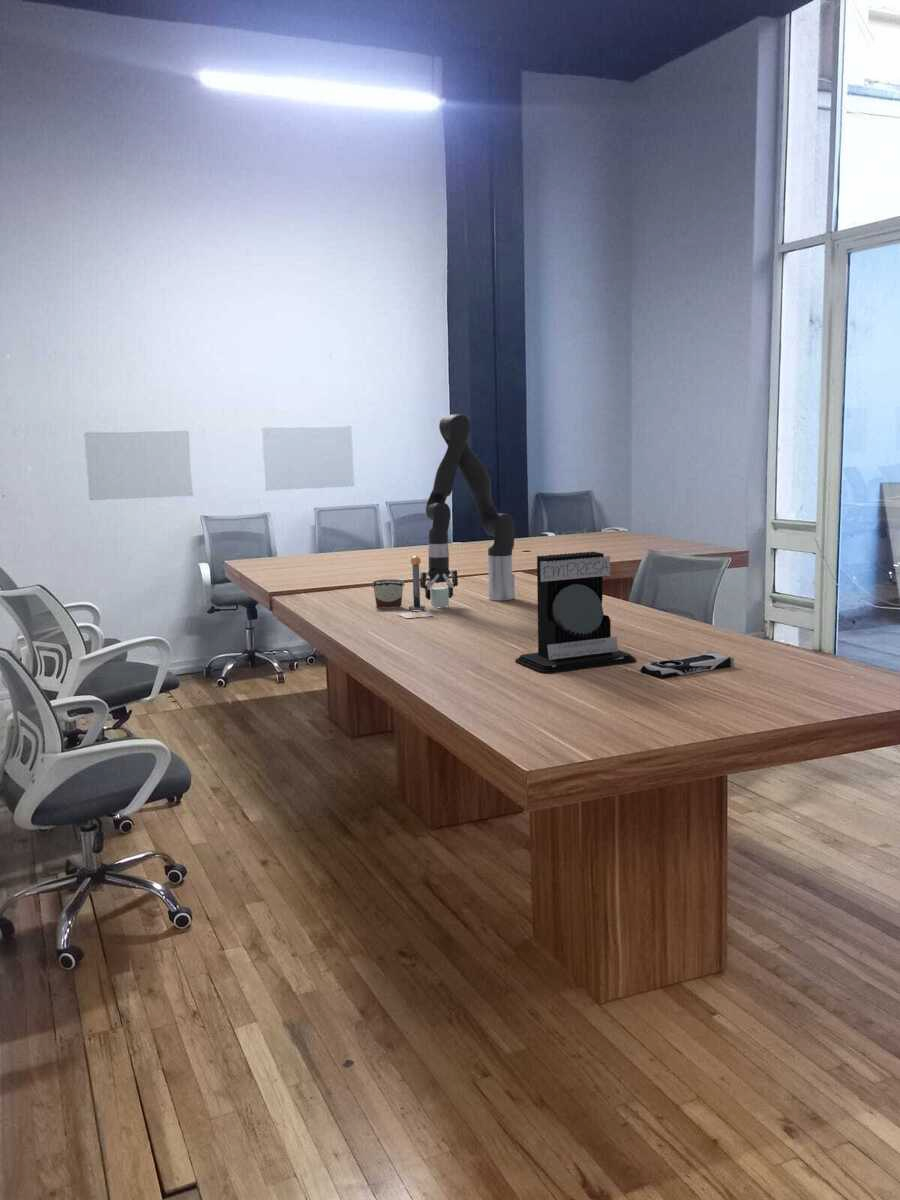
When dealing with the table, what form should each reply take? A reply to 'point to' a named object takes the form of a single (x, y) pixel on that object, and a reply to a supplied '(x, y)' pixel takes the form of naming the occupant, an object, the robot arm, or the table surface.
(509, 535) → the robot arm
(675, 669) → the graphics card
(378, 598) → the food container
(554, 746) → the table surface
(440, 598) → the green block
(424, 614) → the pad
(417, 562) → the metal post
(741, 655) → the table surface
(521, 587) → the table surface
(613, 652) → the award
